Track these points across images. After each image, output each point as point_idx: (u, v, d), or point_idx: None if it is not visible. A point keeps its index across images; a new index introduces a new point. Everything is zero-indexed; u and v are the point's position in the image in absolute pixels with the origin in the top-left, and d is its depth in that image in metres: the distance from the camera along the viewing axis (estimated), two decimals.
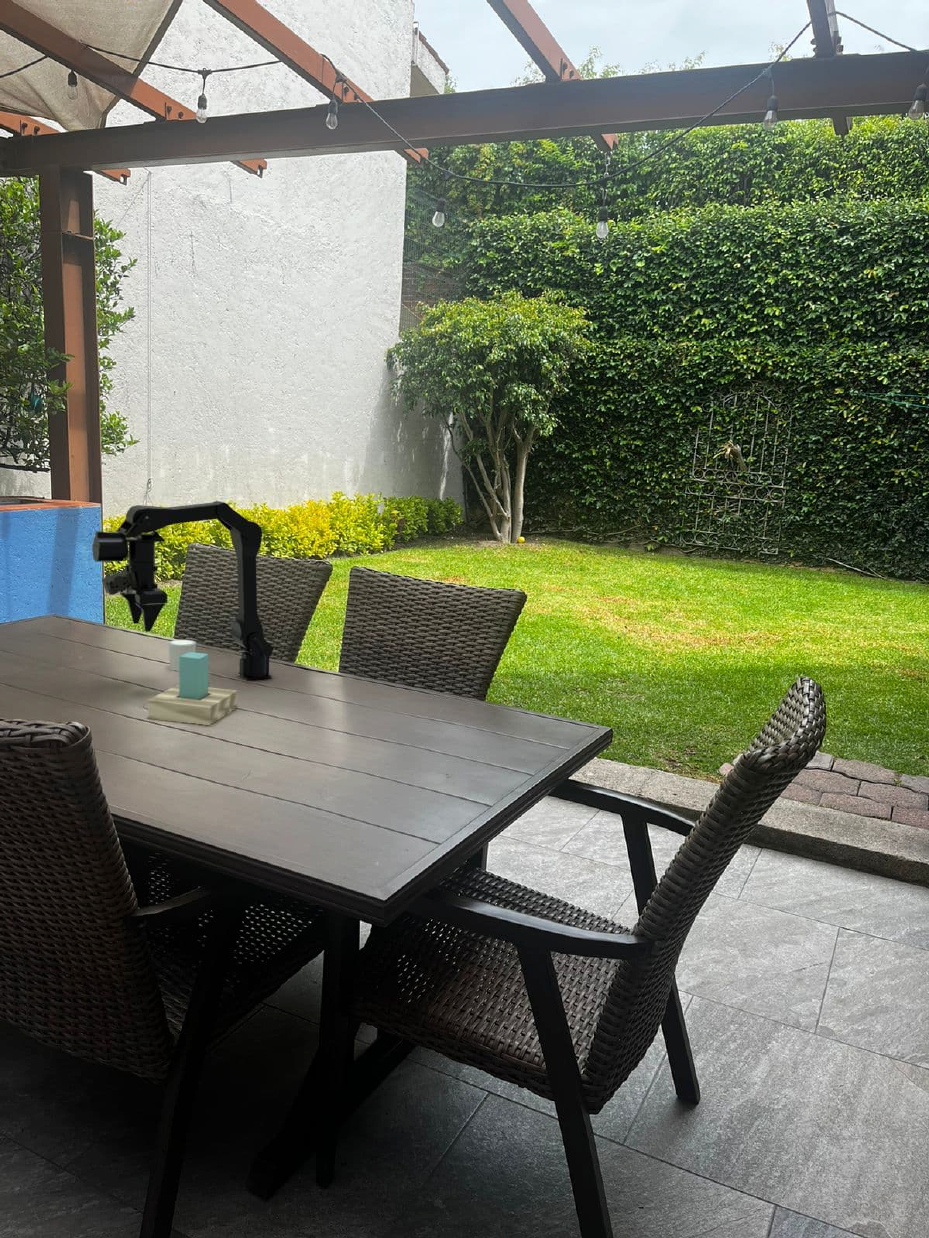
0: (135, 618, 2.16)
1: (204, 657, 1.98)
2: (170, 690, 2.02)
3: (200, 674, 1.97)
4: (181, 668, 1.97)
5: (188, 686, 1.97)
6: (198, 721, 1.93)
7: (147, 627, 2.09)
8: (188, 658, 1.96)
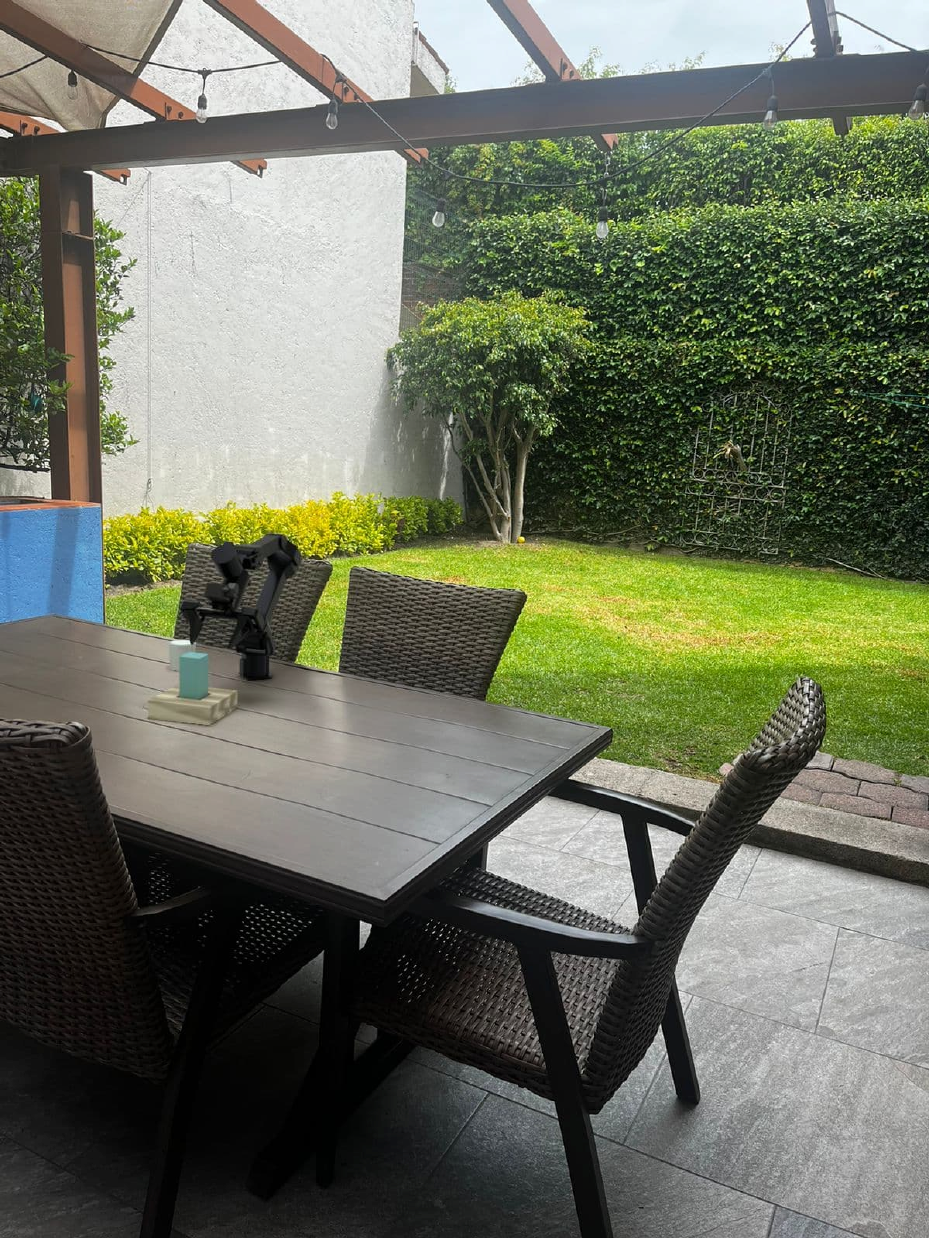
0: (193, 638, 2.07)
1: (204, 657, 1.98)
2: (170, 690, 2.02)
3: (200, 674, 1.97)
4: (181, 668, 1.97)
5: (188, 686, 1.97)
6: (198, 721, 1.93)
7: (232, 644, 2.05)
8: (188, 658, 1.96)
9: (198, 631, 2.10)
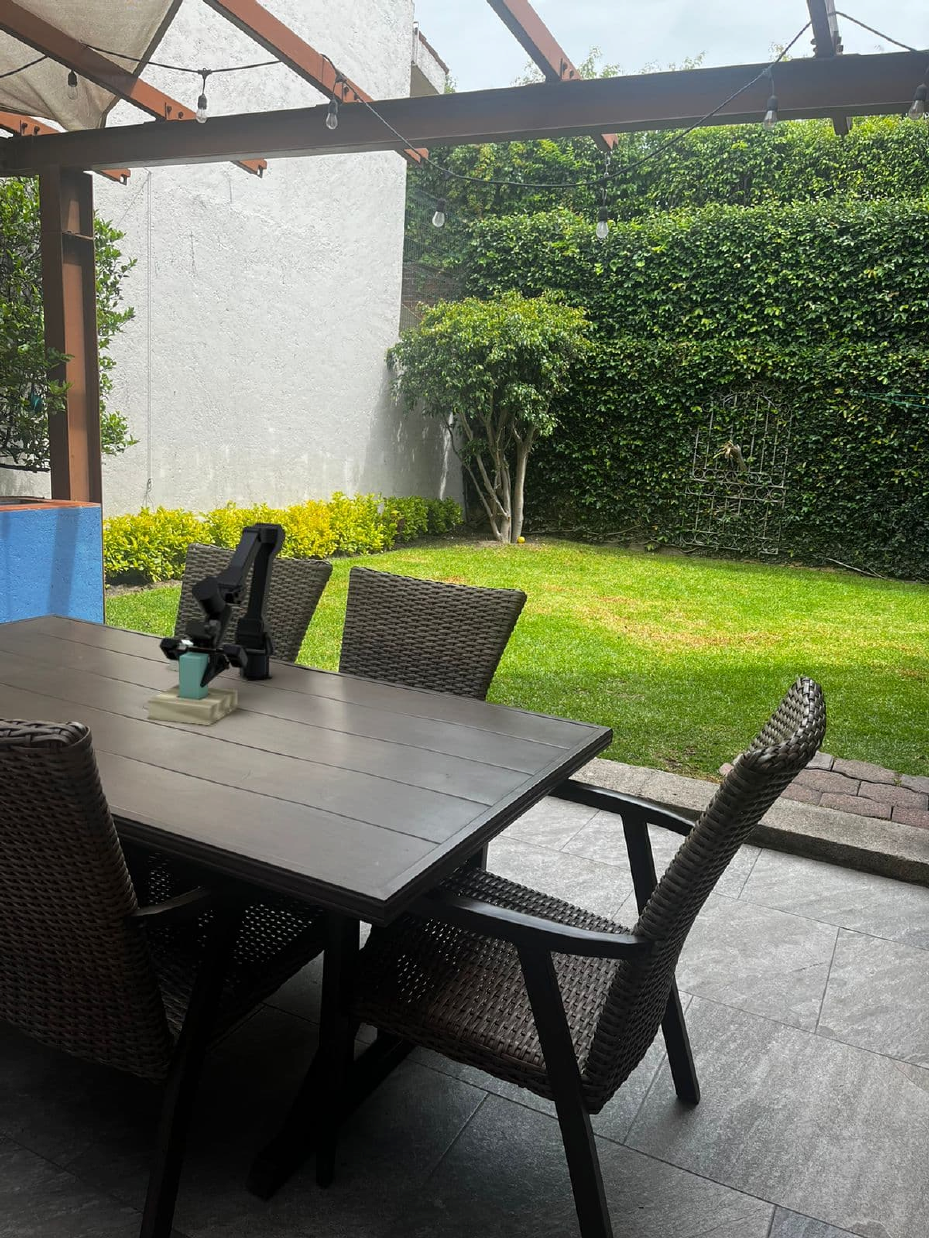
0: None
1: (204, 657, 1.98)
2: (170, 690, 2.02)
3: (200, 674, 1.97)
4: (181, 668, 1.96)
5: (188, 686, 1.97)
6: (198, 721, 1.93)
7: (204, 682, 1.98)
8: (188, 658, 1.96)
9: None
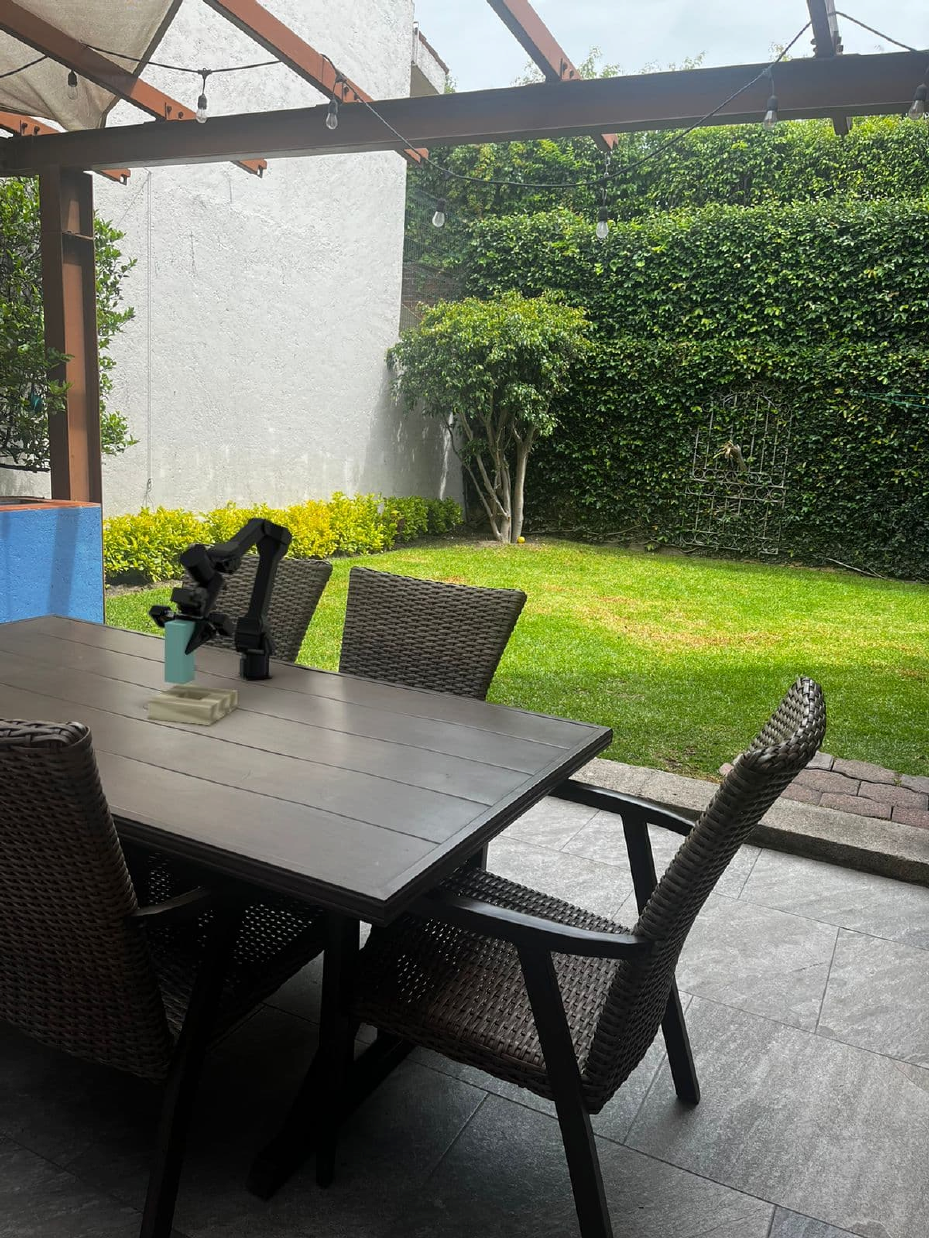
0: None
1: (189, 624, 1.97)
2: (170, 690, 2.02)
3: (185, 641, 1.96)
4: (166, 635, 1.96)
5: (173, 653, 1.96)
6: (198, 721, 1.93)
7: (189, 650, 1.97)
8: (173, 625, 1.95)
9: None
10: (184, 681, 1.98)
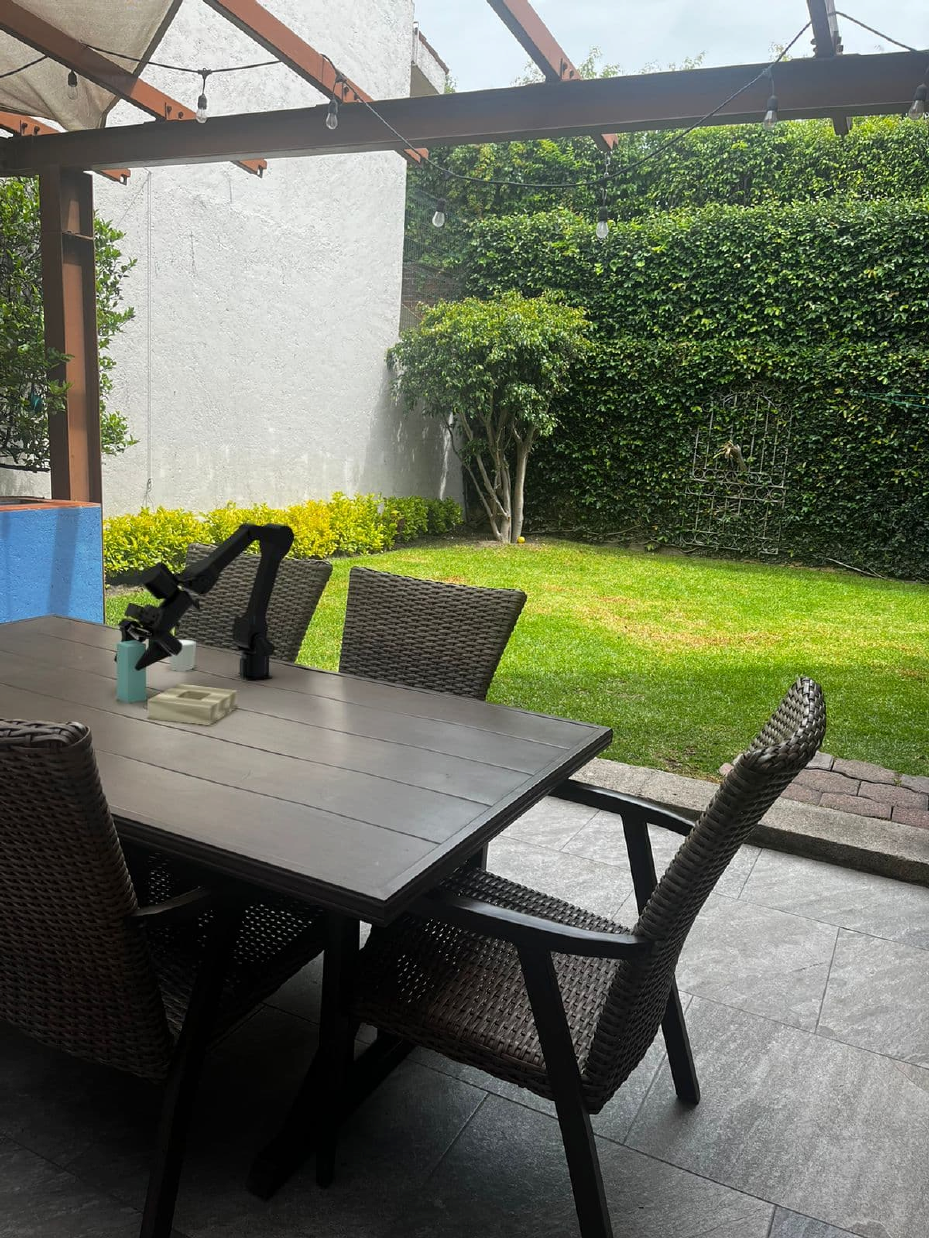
0: None
1: (137, 646, 2.03)
2: (170, 690, 2.02)
3: (130, 662, 2.03)
4: (117, 654, 2.04)
5: (121, 672, 2.04)
6: (198, 721, 1.93)
7: (139, 666, 2.02)
8: (121, 645, 2.03)
9: None
10: (130, 700, 2.04)
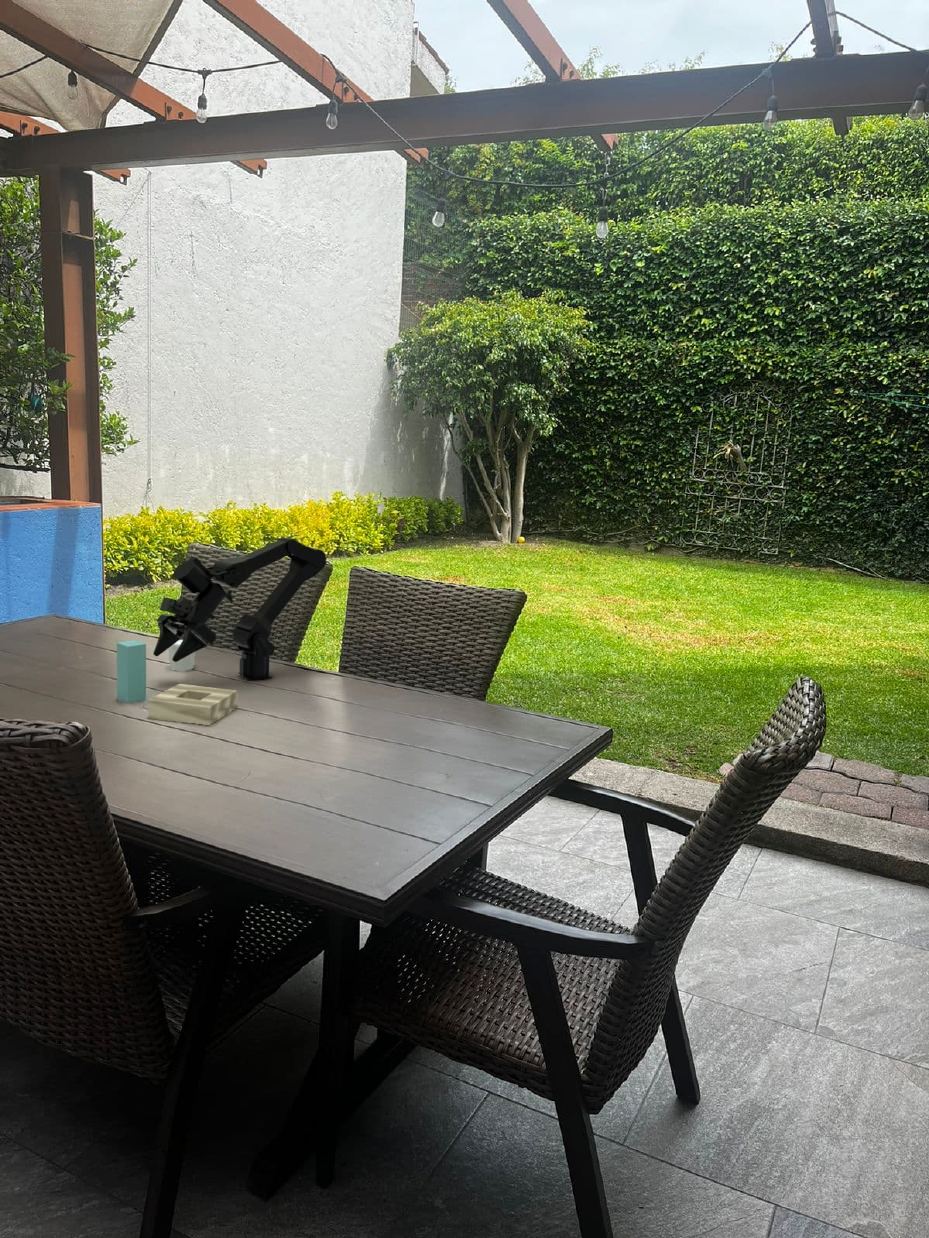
0: (158, 650, 2.15)
1: (137, 646, 2.03)
2: (170, 690, 2.02)
3: (131, 661, 2.03)
4: (117, 654, 2.04)
5: (121, 672, 2.04)
6: (198, 721, 1.93)
7: (176, 657, 2.09)
8: (121, 645, 2.03)
9: (169, 644, 2.17)
10: (130, 700, 2.04)
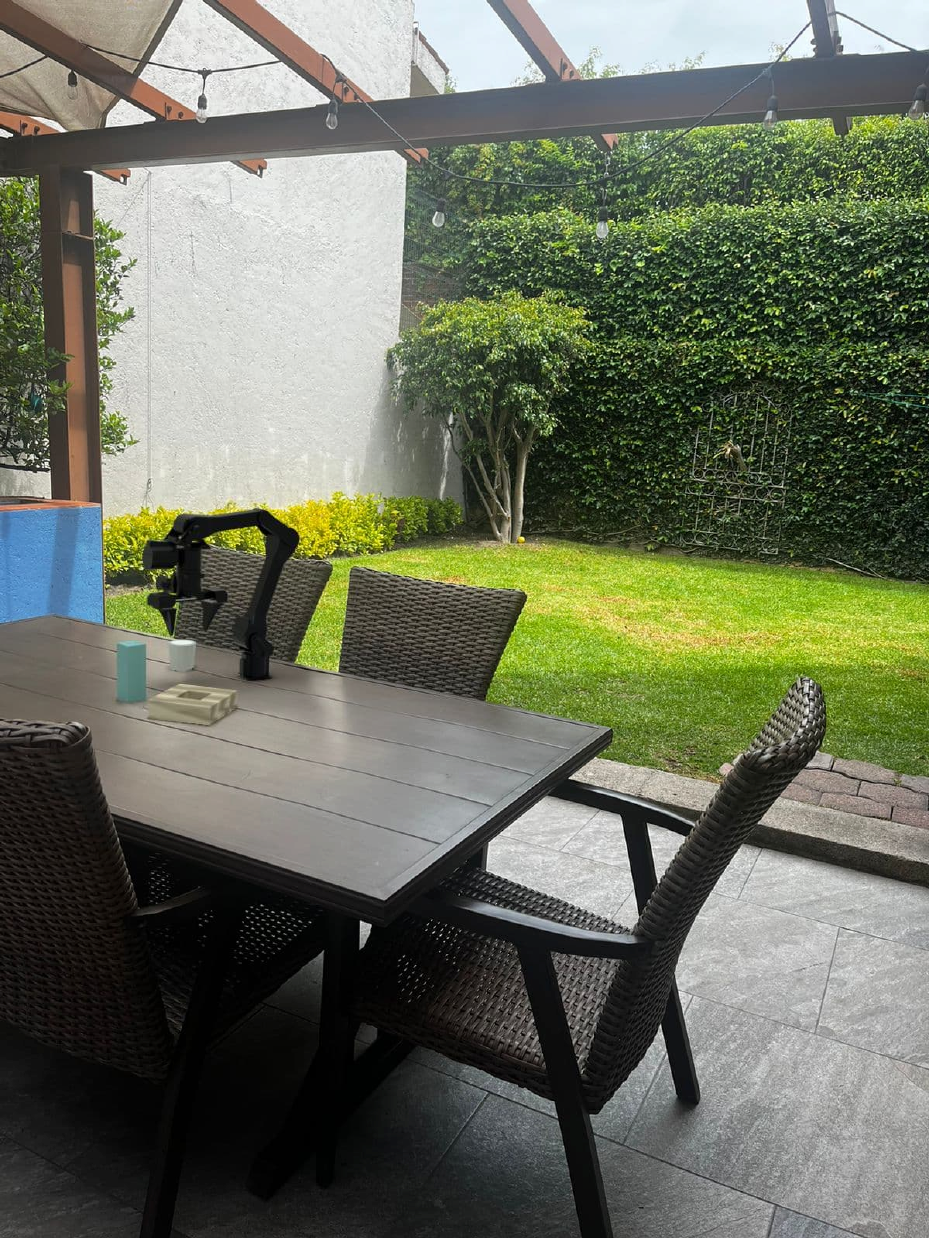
0: (204, 625, 2.21)
1: (137, 646, 2.03)
2: (170, 690, 2.02)
3: (130, 661, 2.03)
4: (117, 654, 2.04)
5: (121, 672, 2.04)
6: (198, 721, 1.93)
7: (169, 631, 2.14)
8: (121, 645, 2.03)
9: (208, 614, 2.20)
10: (130, 700, 2.04)
